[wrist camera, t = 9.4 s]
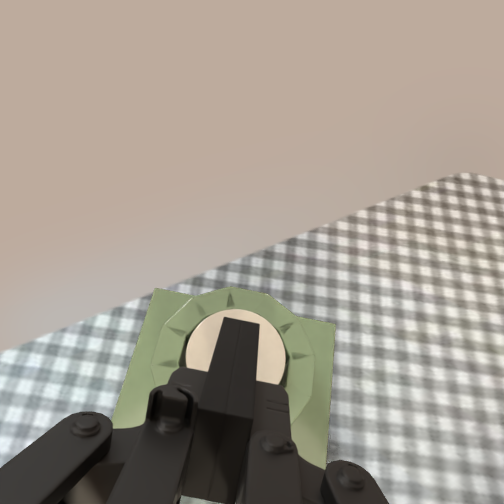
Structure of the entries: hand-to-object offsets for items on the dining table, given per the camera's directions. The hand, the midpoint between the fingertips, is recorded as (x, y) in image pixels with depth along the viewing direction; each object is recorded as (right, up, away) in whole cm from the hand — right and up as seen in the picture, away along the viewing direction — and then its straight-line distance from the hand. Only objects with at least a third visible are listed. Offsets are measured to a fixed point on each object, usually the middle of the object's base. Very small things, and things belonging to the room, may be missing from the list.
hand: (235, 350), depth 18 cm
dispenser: (-2, -8, +14) cm, 16 cm away
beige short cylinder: (0, -2, +3) cm, 4 cm away
